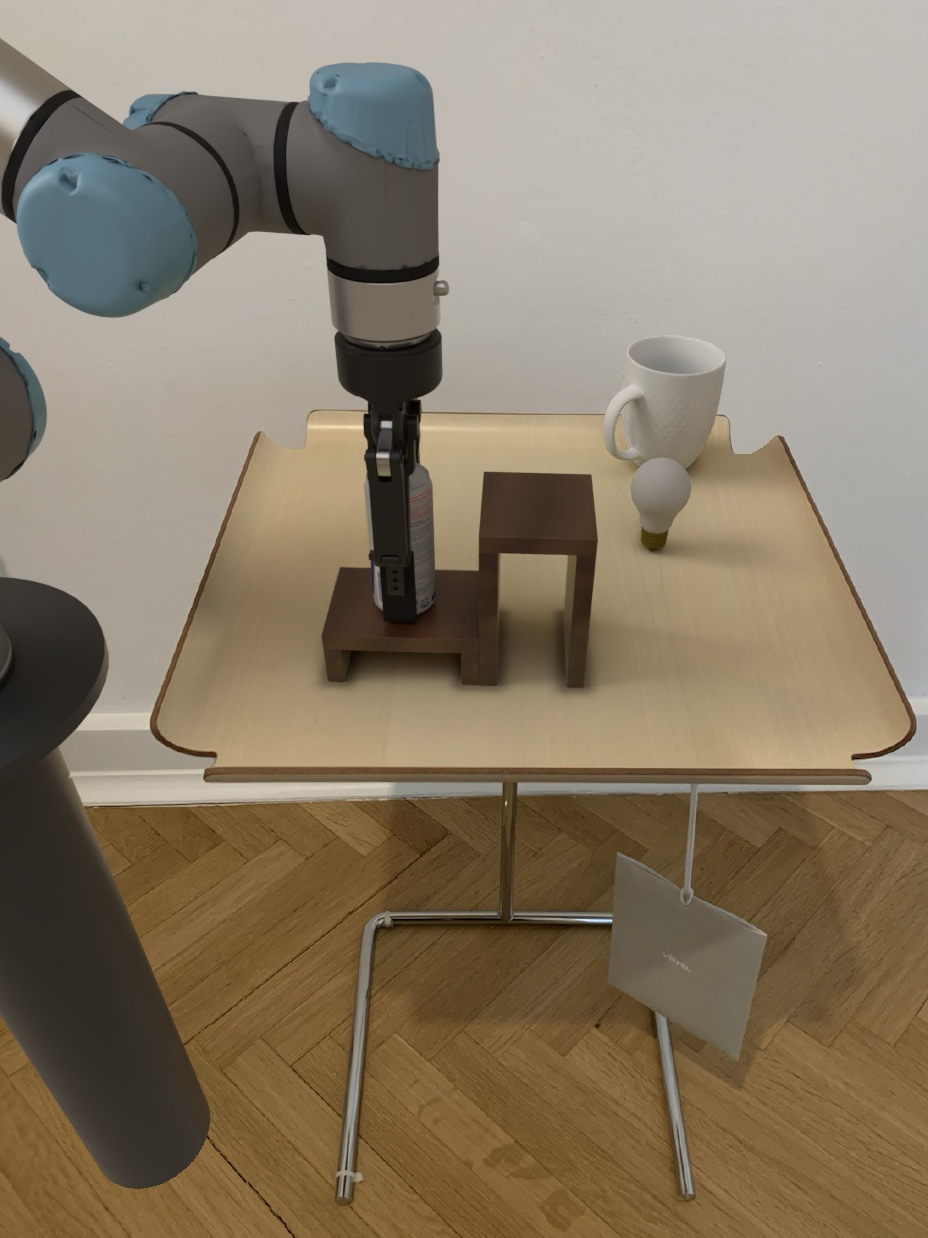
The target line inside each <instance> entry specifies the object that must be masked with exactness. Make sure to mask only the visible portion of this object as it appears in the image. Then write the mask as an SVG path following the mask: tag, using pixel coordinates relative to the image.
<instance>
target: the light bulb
mask: <svg viewBox="0 0 928 1238" xmlns="http://www.w3.org/2000/svg"><path fill="white" fill-rule="evenodd" d="M691 494H692V481H691V477H690V474H689V473H688V471H687V469H685V468H684V467H683V466H682V465H681V464H680V463H679V462H677V461H675V460H673V459H670V458H664V457H660V458H654V459H651V460H649V461H647V462H645V463H644V464H642V465H641V466H640V467H638V468H637V469H636V471H635V473H634V474H633V476H632V479H631V482H630V496H631V500H632V502H633V504H634V506H635V508H636V509H637V512H638V515H639V521H640V525H641V527H640V528H641V530H640V543H641V545H642V546H643V547H645V548H647V549H648V550H650V551H655V550H658V549H661V548H664V547H665V546H666V545H667V540H668V535H669V531H670V528H671V527H672V525H673V523H674V520H675V518H676V517H677V516H678V515H679V513H680V512H682V510H683V509H684V508H685V507H686V505H687V504H688V502H689V499H690V497H691Z"/></svg>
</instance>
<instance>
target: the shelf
mask: <svg viewBox="0 0 928 1238" xmlns="http://www.w3.org/2000/svg"><path fill="white" fill-rule="evenodd" d="M482 474H483V476H482V488H481V501H480V502H481V503H480V513H479V514H480V515H479V527H478V570H471V569H470V570H469V569H467V570H466V569H435V577H436V599H435V601H434V603H433V604H432V606H431V607H429V608H428V609H427V610H426V611H424V612H422V613H420V614H417V620H416V622H395V621H384V618H383V611H382V610H381V609H380V608H379V607H378V606H377V605H376V604H375V602H374V597H373V586H372V574H371V567H355V566H353V567H352V566H350V567H349V566H340V567H339V569H338V572H337V576H336V580H335V583H334V586H333V590H332V595H331V598H330V602H329V606H328V611H327V614H326V617H325V620H324V625H323V627H322V631H321V635H320V636H321V645H322V649H323V658H324V664H325V671H326V678H327V681H328V682H345V681H346V679H347V675H348V670H349V666H350V665H349V664H350V660H351V656H352V651H360V652H361V651H362V652H363V651H364V652H365V651H366V652H367V651H368V652H399V653H400V652H403V653H405V652H406V653H435V654H436V653H441V654H460V671H461V672H460V673H461V676H460V677H461V685H463V686H465V685H467V686H497V685H498V684H497V681H498V680H497V679H498V659H499V657H498V656H499V638H500V637H499V634H500V610H501V609H500V608H501V607H500V604H501V603H500V601H501V599H500V598H501V554H503V555H505V554H506V555H507V554H509V555H512V554H513V555H541V556H542V555H544V556H548V555H549V556H567V560H566V576H565V588H564V604H563V637H564V663H565V664H564V665H565V685H566V688H581V689H583V688H584V687H585V678H586V667H587V659H588V649H589V636H590V627H591V615H592V605H593V597H594V585H595V576H596V575H595V573H596V565H597V555H598V554H597V553H598V543H599V537H598V528H597V527H598V526H597V516H596V507H595V505H596V504H595V496H594V485H593V476H592V474H591V473H561V472H559V473H557V472H553V473H551V472H521V471H520V472H517V471H516V472H515V471H483V473H482Z"/></svg>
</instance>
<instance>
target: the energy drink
mask: <svg viewBox="0 0 928 1238" xmlns="http://www.w3.org/2000/svg"><path fill="white" fill-rule="evenodd" d="M409 485H410V490H409V491H410V541H411V550H412V552H414V568H415V588H416V608H417V614H420V613H422V612H424V611H426V610H427V609H428V608H429V607H431V606H432V604H433V603H434V601H435V599H436V577H435V570H436V552H435V551H436V549H435V521H434V520H435V518H434V488H433V487H434V486H433V481H432V478H431V475H430V472H429V470H428V468H427V467H426V466H424V465H422V464H421V463H420V464H418V463H416V467H415V470H414V472H413V474H412V475H410V476H409ZM363 488H364V503H365V514H366V527H367V537H368V538H367V540H368V548H369V549H368V550H369V551H370V550H374V546H373V533H372V520H371V507H370V494H369V481H368V475H367V473H366V474H365V481H364V484H363ZM369 561H370V568H371V574H372V586H373V597H374V602H375V604H376V605H377V606H378V607H379V608H380V609H381V610H382V611H383V605H382V593H381V580H380V568H379V567H378V566H375V562H374V561H373V560H369Z"/></svg>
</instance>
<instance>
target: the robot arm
mask: <svg viewBox="0 0 928 1238" xmlns="http://www.w3.org/2000/svg"><path fill="white" fill-rule="evenodd" d="M436 129H437V127H436V114H435V101H434V91H433V88H432V85H431V83H430V81H429V80H428V79H427V76H426V75H424V74H423V73H422V72H420V70H418V69H416V68H413V67H410V66H406V65H403V64H397V63H391V62H389V63H388V62H379V61H377V62H376V61H375V62H374V61H370V62H369V61H368V62H338V63H332V64H327V65H323V66H320V67H318V68H316V69H315V70H314V71H313V72H312V74H311V75H310V78H309V95H307V99H305V100H302V101H284V100H270V99H257V98H246V97H233V96H220V95H208V94H206V95H205V94H202V93H201V94H199V93H198V92H197V91H187V90H182V91H180V92H178V93H148V94H144V95H142V96H140V97H138V98H136V99H135V100H134V101H133V102H132V103H131V104H130V105H129V109H128V116H127V117H126V118H124V119H123V121H122V122H120V121H119V120H117V119H115V118H114V117H113V116H111V115H109V113H106V112H105V110H102V109H101V108H100V107H98V106H97V105H95V104H94V103H93V102H91V101H89V100H88V99H86V98H85V97H83V96H82V95H80V94H79V93H78V92H76V91H75V90H73V89H72V88H71V87H69V85H66V84H65V83H64V82H62V81H61V80H59V79H58V78H57V77H56V76H54V75H52V74H51V73H50V72H49V71H48V70H46V69H44V68H43V67H41V66H40V65H39V64H37V63H36V62H35V61H33V60H31V59H30V58H29V57H27V56H26V55H25V54H24V53H22V52H21V51H19V50H18V49H16V48H15V47H13V46H12V45H11V44H9V43H8V42H6V41H5V40H4V39H2V38H1V37H0V214H1V215H2V216H4V217H6V218H7V219H9V220H10V221H11V222H13V223H14V224H16V232H17V236H18V239H19V243H20V245H21V248H22V252H23V254H24V257H25V258H26V260H27V262H28V263H29V265H30V267H31V269H34V270H36V272H37V273H38V275H39V276H40V278H41V279H42V280H43V281H44V283H45V284H46V285H47V288H48V290H49V291H50V292H51V293H52V294H53V295H55V296H56V297H57V298H58V299H60V300H61V302H64V303H65V304H67V305H68V306H70V307H71V308H74V309H76V310H78V311H80V312H82V313H85V314H88V315H91V316H95V317H100V318H108V319H114V318H115V319H116V318H118V319H119V318H125V317H128V316H132V315H135V314H137V313H139V312H141V311H143V310H145V309H148V308H149V307H151V306H153V305H154V304H156V303H158V302H160V301H163V300H165V299H168V298H169V297H170V296H172V295H174V294H175V293H178V291H180V289H182V287H183V286H184V285H185V283H186V282H188V281H189V280H190V279H191V278H192V276H193V275H195V274H196V273H197V272H198V271H199V270H200V269H202V268H203V267H204V266H206V265H207V264H208V263H209V262H210V261H212V260H214V259H215V258H217V257H218V256H219V255H221V254H222V253H224V252H225V251H227V250H228V249H229V248H231V247H232V246H233V245H234V244H236V243H237V242H239V241H240V240H241V239H242V238H244V237H245V236H246V235H247V234H249V233H271V234H272V233H273V234H285V235H297V236H298V235H299V236H312V235H313V236H321V237H322V238H323V243H324V247H325V260H326V276H327V286H328V296H329V297H328V298H329V309H330V319H331V324H332V326H333V327H334V329H335V330H337V331H336V332H335V334H334V338H333V341H334V349H335V360H336V368H337V369H336V371H337V379H338V382H339V384H340V386H341V387H342V388H343V389H344V390H345V391H346V392H347V393H348V394H350V395H352V396H354V397H358V398H361V399H363V400H364V401H366V402H367V413H365V412H363V415H362V416H363V417H362V418H363V420H362V424H363V425H362V426H363V427H362V428H363V437H364V438H365V440H366V442H367V448H366V449H365V451H364V456H363V462H365V468H366V474H367V475H368V481H369V494H370V507H371V520H372V533H373V546H374V550H369V552H368V554H367V555H368V560H369V561H370V560H373V561H374V562H375V566H378V567H379V568H380V580H381V593H382V605H383V618H384V621H395V622H416V620H417V608H416V588H415V568H414V552H412V550H411V541H410V491H409V490H410V485H409V476H410V475H412V474H413V472H414V470H415V467H416V463H418V464H421V454H420V453H421V452H420V444H421V425H420V424H421V420H422V412H423V407H422V399H419V398H423V397H424V396H427V395H428V394H429V395H430V393H432V392H433V391H434V390H436V389H437V388H438V387H439V386H440V384H441V382H442V381H443V376H444V375H443V373H444V372H443V336H442V333H441V331H440V330H439V329H438V327H439V325H440V323H441V319H442V318H441V317H442V316H441V297H445V296H448V294H449V293H450V285H449V283H448V281H447V280H438V278H439V276H440V250H439V249H440V245H439V241H440V240H439V236H440V235H439V233H440V232H439V163H440V162H441V155H440V150H439V148H438V142H437V131H436ZM10 347H11V344H10V343H9V342H8V340H6V339H4V338H3V337H2V336H0V483H2V482H3V481H6V480H8V479H10V478H11V477H12V476H14V475H15V474H17V472H18V471H20V470H21V468H23V467H24V465H25V463H26V461H28V459H29V458H30V456H31V455H33V454H34V452H35V451H36V450H37V449H38V447H39V446H40V443H41V442H42V440H43V438H44V435H45V433H46V428H47V423H48V407H47V402H46V396H45V393H44V389H43V387H42V385H41V383H40V379H39V378H38V376H37V374H36V372H35V371H34V369H33V368H32V365H31V364H30V362H28V360H27V359H26V358H25V357H24V356H23V354H22V353H20V352H15V351H13V350H11V349H10ZM14 664H15V653H14V650H13V647H12V644H11V642H10V640H9V637H8V635H7V633H6V632H5V631H4V629H3V627H2V626H1V624H0V690H1V689H2V688H3V687H4V685H5V684H6V682H7V681H8V679H9V677H10V676H11V673H12V671H13V668H14Z"/></svg>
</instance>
